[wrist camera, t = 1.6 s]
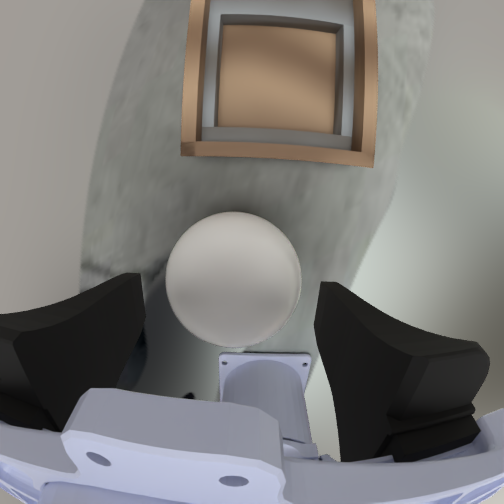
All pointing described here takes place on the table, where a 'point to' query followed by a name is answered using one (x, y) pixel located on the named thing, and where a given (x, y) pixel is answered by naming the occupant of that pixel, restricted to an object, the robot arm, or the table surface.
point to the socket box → (281, 80)
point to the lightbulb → (233, 279)
